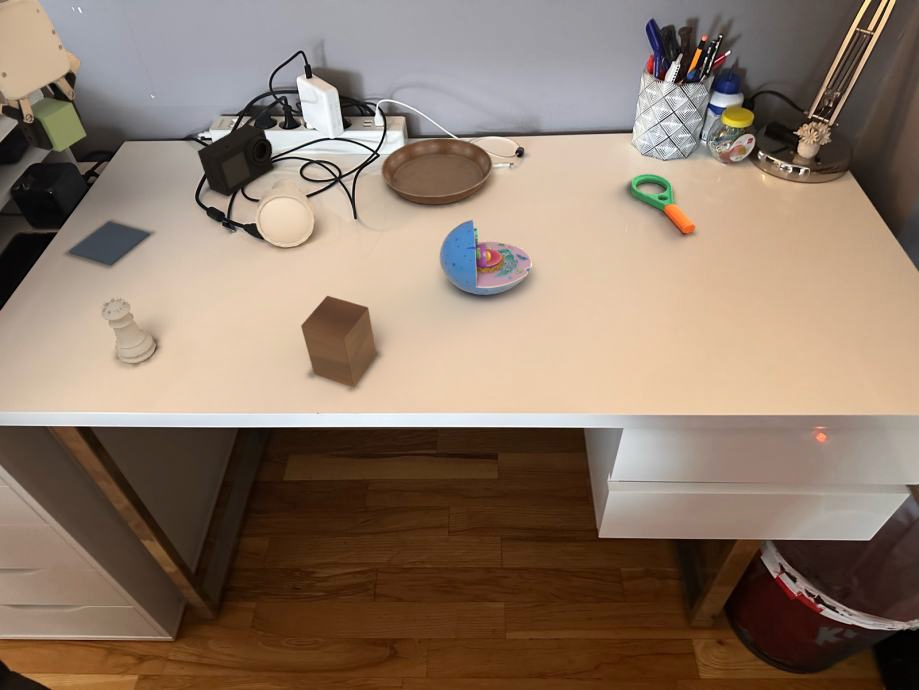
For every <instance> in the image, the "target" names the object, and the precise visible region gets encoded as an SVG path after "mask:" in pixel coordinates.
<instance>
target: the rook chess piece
mask: <svg viewBox="0 0 919 690" xmlns="http://www.w3.org/2000/svg"><path fill="white" fill-rule="evenodd" d="M131 308H132V306H131V303H130V302H128V301H125V300H124V299H123V298H122V297H119V296H117V297H116V299H115V297H111V298H109V302H108V301H106V300H104V301H103V303H102V306H101V315H100V316H101V318H103V319H104V320H107V321H108V326H109V327H110V328H112V330H113V331H114V334H115V336H116V340H115V343H116V344H115V351H116V354H117V357H118V359H119V360H120V361H121V362H123V363H128V364H130V365H131V364H139V363H142V362H144V361H146V360H148V359H149V358H151V356H152V355H153V354H154V352H155V350H156V346H157V345H156V341H155V340H154V339H153V337H152V336H151V334H150V333H148V332H147V331H145V330H143V329H142V328H140V327H139V325H138V324H137V323H136V322H135V320H134V314H133V313H132V312H130V311H131Z"/></svg>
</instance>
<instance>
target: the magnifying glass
mask: <svg viewBox="0 0 919 690" xmlns="http://www.w3.org/2000/svg"><path fill="white" fill-rule="evenodd" d="M644 183H653V184H658V185H660V186H662V187H664V189H665V191H664V192H660V193H647V192H644V191H641V190H640V189H638V188H637V186H639V185H641V184H644ZM630 192H631V194H632V196H634V197H635V198H636V199H638V200H640V201H642V202H644V203H646V204H648V205H650V206H652V207H654V208H657V209H659V210H661V211H662V212H664V213H665V215H666V216H667V217H668V218H669V219H670V220H671V221H672V222H673V223H674V224H675V225H676V227H678V228H679V230H680V231H681V232H682V233H683V234H690V233H692V232H694V230H695V229H696V225H695V224H694V223H693V222H692V221H691V220H690V218H689V217H688V216H686V215H685V213H684V212H683V211H682V210H681V209H680V208H679V207H678V206H677V205H676V204H675V202H674V197H673V185H672V184H671V182H670V181H669V180H668V179H666V178H665V177H664V176H663V177H662V176H661V175H658V174H655V173H654V174H653V173H642V174H638V175H636V176H634V177H633V178H632V179H631V183H630Z"/></svg>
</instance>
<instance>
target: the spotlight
mask: <svg viewBox="0 0 919 690" xmlns="http://www.w3.org/2000/svg"><path fill="white" fill-rule="evenodd" d="M313 207H314V206H313V204H312V203H311V201H310V200H309V198H308V197H307V195H306V194H304V193H303V192H302V188H301V187H300V185H298V183H297V182H295V181H294V180H291V179H280V180H278V181H276V182H275V183H274V184H273V185H272V187H271V189H270V190H268V191H266V192H265V193H264V194H262V196H261V197H260V199H259V200H258V201H257V207H256V211H255V218H254V221H255V225H256V229H257V231H258V232H259V234H260V235H261V237H262V238H263V239H264V240H265V241H267V242H269V243H270V244H272V245H273V246H277V247H282V248H291V247H297V246H299V245H300V244H302V243H304V242H305V241H307V240H308V238H309V237H310V236H311V235H312V233H313V231H314V226H315V212H314V208H313Z"/></svg>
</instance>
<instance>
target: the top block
mask: <svg viewBox="0 0 919 690" xmlns="http://www.w3.org/2000/svg"><path fill="white" fill-rule="evenodd" d="M30 105H31V109H32V112H33V116H34V119H38V120H40V121H41V123H42V125H43V127H44V129H45V131H46V133H47V135H48V137H49V139H50V141H51V143H52V145H53V149H51V150H50V151H55V152H58V153H59V152H62V151H64V150H65V149H67V148H69V147H71V146H73V145H74V144H75V143H77V142H79V141H80V140H81V139H83V138H86V137H87V133H86V131H85V129H83V127H82V124H81V122H80V120H79V118H78V116H77V114H76V111H75V109H74V107H73V105H72V103H69V102H65V101H60V100H55V99H51V97H44V98H42V99H40V100H39V101H36V102H35V103H33V104H30Z"/></svg>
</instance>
